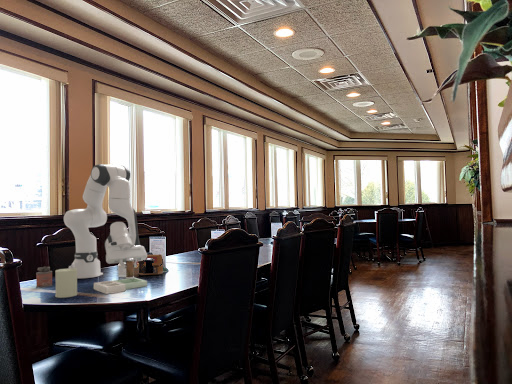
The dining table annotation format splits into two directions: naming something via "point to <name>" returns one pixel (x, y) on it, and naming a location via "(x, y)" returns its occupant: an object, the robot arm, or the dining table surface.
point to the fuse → (130, 268)
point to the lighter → (44, 277)
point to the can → (66, 282)
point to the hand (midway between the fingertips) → (130, 267)
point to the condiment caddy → (155, 265)
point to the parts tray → (132, 283)
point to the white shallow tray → (109, 287)
